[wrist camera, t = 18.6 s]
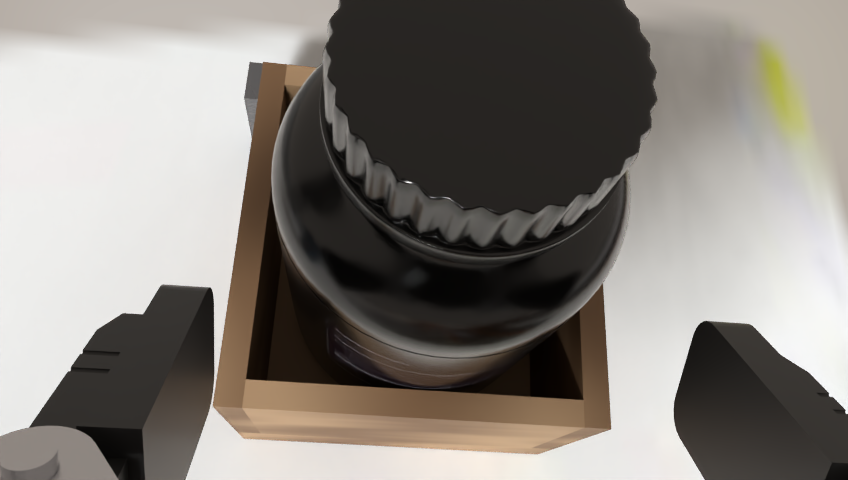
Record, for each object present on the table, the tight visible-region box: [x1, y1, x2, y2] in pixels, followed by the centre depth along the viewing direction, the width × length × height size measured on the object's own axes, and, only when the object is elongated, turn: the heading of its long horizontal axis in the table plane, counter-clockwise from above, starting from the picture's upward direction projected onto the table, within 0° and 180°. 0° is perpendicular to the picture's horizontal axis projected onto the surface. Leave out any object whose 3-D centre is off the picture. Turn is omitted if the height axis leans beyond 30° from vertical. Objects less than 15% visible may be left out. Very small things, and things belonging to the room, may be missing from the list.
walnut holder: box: [213, 62, 611, 454], centre depth 20 cm, size 9×9×6 cm
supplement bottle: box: [271, 0, 657, 393], centre depth 16 cm, size 7×7×12 cm
